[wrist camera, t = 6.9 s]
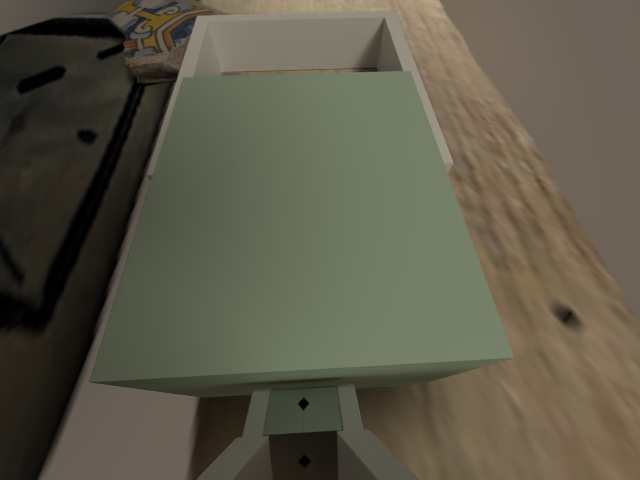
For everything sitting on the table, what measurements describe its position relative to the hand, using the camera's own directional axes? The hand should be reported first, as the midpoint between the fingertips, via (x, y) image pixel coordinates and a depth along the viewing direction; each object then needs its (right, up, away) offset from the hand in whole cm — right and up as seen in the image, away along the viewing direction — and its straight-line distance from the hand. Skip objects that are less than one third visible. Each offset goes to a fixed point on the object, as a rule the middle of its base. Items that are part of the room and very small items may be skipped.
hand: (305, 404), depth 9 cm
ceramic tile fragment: (-14, +23, +20) cm, 33 cm away
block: (0, +3, +8) cm, 9 cm away
